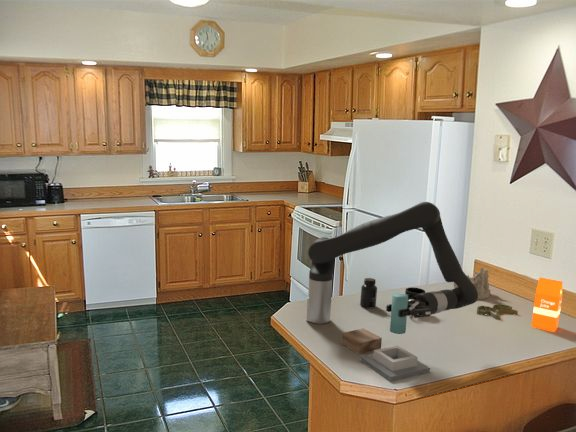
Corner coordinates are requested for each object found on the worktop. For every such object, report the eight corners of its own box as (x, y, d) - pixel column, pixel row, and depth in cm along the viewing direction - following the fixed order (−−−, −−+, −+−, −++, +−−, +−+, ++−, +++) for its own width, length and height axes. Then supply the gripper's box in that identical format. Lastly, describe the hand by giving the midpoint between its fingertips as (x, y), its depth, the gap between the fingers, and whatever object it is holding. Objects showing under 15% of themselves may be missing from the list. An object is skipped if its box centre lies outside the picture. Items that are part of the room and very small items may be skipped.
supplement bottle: (375, 309, 236) (377, 282, 234) (359, 307, 237) (361, 280, 235) (376, 304, 243) (378, 278, 241) (360, 302, 244) (362, 276, 242)
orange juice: (535, 321, 230) (541, 275, 226) (558, 326, 225) (564, 279, 221) (531, 326, 223) (537, 279, 220) (554, 332, 218) (561, 283, 215)
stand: (359, 354, 190) (360, 343, 190) (341, 343, 199) (341, 333, 198) (381, 348, 196) (381, 337, 195) (362, 338, 204) (363, 328, 203)
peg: (390, 333, 178) (392, 297, 175) (389, 327, 182) (391, 292, 180) (406, 334, 177) (408, 298, 175) (404, 328, 182) (407, 293, 180)
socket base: (390, 381, 171) (391, 367, 170) (360, 360, 185) (361, 348, 184) (429, 372, 179) (431, 359, 178) (398, 353, 193) (399, 340, 192)
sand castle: (494, 293, 265) (495, 263, 263) (480, 302, 253) (481, 270, 251) (463, 288, 275) (464, 258, 273) (448, 296, 263) (449, 265, 261)
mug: (394, 312, 233) (396, 290, 232) (411, 307, 241) (413, 286, 239) (410, 318, 227) (412, 296, 226) (427, 312, 235) (429, 291, 233)
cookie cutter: (494, 321, 229) (494, 316, 229) (470, 312, 239) (471, 307, 239) (521, 314, 239) (521, 310, 238) (497, 306, 248) (498, 302, 248)
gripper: (415, 286, 191) (378, 293, 182) (447, 298, 180) (410, 306, 170) (413, 307, 193) (377, 315, 184) (445, 320, 181) (408, 329, 172)
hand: (393, 311), depth 177 cm, fingers closed on peg, 5 cm apart
